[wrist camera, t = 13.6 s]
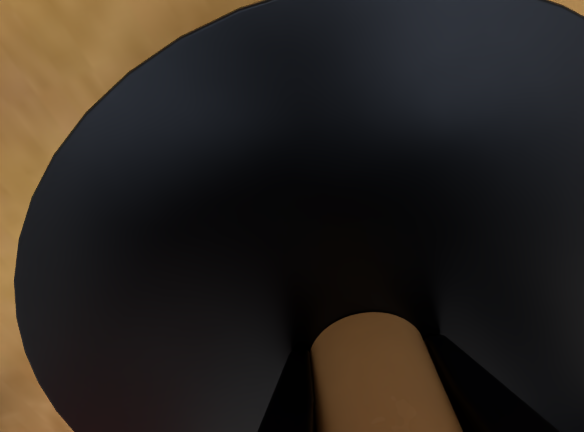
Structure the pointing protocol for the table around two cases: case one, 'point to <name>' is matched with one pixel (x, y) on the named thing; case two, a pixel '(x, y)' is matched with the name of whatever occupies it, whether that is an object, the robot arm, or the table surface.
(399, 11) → the lid
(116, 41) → the table surface
